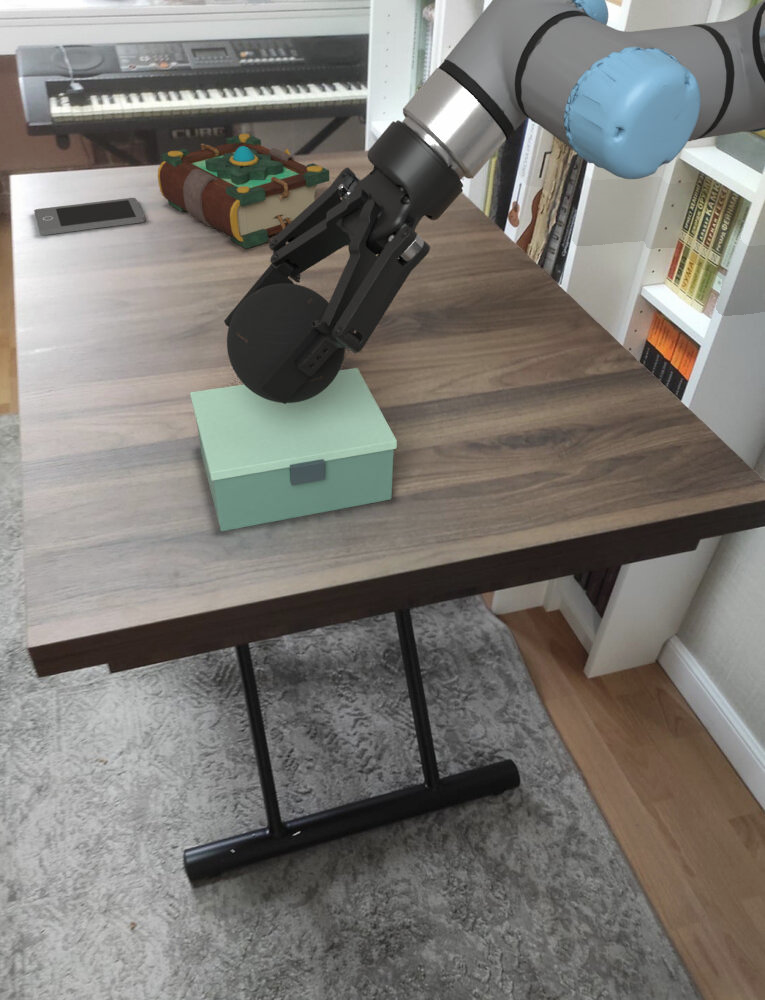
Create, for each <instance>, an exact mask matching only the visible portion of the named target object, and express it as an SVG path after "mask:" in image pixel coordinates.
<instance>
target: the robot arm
mask: <svg viewBox="0 0 765 1000" xmlns="http://www.w3.org/2000/svg"><path fill="white" fill-rule="evenodd" d="M608 22H609V8H608V5H607V2H606V0H491V1H490V3H489V4H488V5H487V6H486V7H485V9H484V10H483V11H482V13H481V14H480V15H479V17H478V18H477V19H476V20H475V21H474V23H473V24H472V25H471V26H470V28H469V29H468V30H467V31H466V32H465V33H464V34H463V37H462V38H461V39H460V40H459V41H458V42H457V44H456V45H455V46H454V48H452V50H451V51H450V52H449V54H447V56H446V57H445V58H444V59H443V62H442V63H441V64H440V65H439V66H438V67H436V68H435V69H434V70H433V72H432V73H431V74H430V75H429V77H428V78H426V80H425V82H424V83H423V84H422V85H421V86H420V87H419V89H417V91H416V92H415V94H413V96H412V97H411V99H409V101H408V102H407V103H406V105H404V107H403V108H402V114H403V116H404V119H403V120H402V121H401V120H398V119H397V120H396V121H392V122H390V124H389V125H388V126H387V128H386V129H385V130H384V131H383V132H382V133H381V135H380V136H379V137H378V138H377V139H376V141H375V142H374V143H373V144H372V146H371V147H370V148H369V149H368V150H367V159H368V161H369V163H371V165H373V169H372V170H371V171H370V172H369V173H368V174H367V175H365V176H364V177H363V178H360V177H359V176H358V175H357V174H356V173H355V172H354V171H353V170H352V169H350V168H349V167H345V168H344V169H342V170H341V171H340V173H338V175H337V176H336V178H335V179H334V180H333V182H332V183H331V184H330V186H329V187H328V188H327V189H325V190H324V191H323V192H322V193H321V194H320V195H319V196H318V197H317V198H315V201H314V202H313V203H312V204H310V205H309V206H308V207H307V208H306V209H305V210H304V211H303V212H302V213H301V214H299V215H298V216H297V217H296V218H295V219H294V220H293V221H292V222H291V223H290V224H288V225H287V226H286V227H285V228H284V229H283V230H282V231H281V232H278V233H276V235H275V236H274V237H273V238H272V239H271V240H270V242H269V243H268V248H269V249H270V250H271V251H272V255H271V257H270V258H269V259H270V260H269V261H270V263H271V264H270V265H269V266H268V267H267V268H266V270H265V271H264V272H263V273H262V274H261V275H260V277H259V278H258V279H257V281H255V283H254V284H253V285H252V286H251V288H250V289H249V290H248V291H247V292H246V293H245V295H244V296H243V297H242V298H241V299H240V301H239V302H238V303H237V304H236V306H235V307H234V308H233V309H232V310H231V312H230V313H229V314H228V316H227V317H225V319H224V320H223V322H224V324H225V326H227V327H228V328H229V324H230V321H231V319H232V317H233V315H234V313H235V311H236V309H237V308H238V307H239V305H240V304H241V303H242V302H243V301H244V300H245V299H246V298H247V297H248V296H249V295H251V294H252V293H254V292H255V291H257V290H259V289H261V288H263V287H266V286H269V285H273V284H280V283H289V284H295V283H296V284H298V283H301V276H302V275H301V274H302V273H304V272H306V271H307V270H309V269H310V268H312V267H313V266H315V265H317V264H318V263H320V262H321V261H323V260H324V259H326V258H329V256H331V255H333V254H334V253H335V252H337V251H339V250H340V249H342V248H344V247H345V246H348V249H347V251H348V253H349V257H348V259H347V261H346V264H345V266H344V268H343V271H342V272H341V275H340V277H339V279H338V282H337V284H336V286H335V288H334V291H333V293H332V295H331V297H330V299H329V301H328V302H329V304H328V306H327V308H326V311H325V313H324V315H323V317H322V319H321V321H318V320H314V321H313V320H312V322H311V324H310V325H309V326H308V327H307V328H306V329H305V331H304V332H303V333H302V334H301V335H300V336H299V337H298V339H297V340H296V341H295V342H294V343H293V344H292V346H291V347H290V348H289V349H288V350H287V351H286V352H285V354H284V355H283V356H282V357H281V358H280V359H279V361H278V362H277V363H276V364H275V365H274V366H273V367H272V369H271V370H270V371H269V372H268V373H267V374H266V376H265V377H264V378H263V379H262V380H261V381H260V382H259V384H258V385H259V387H260V389H261V390H263V391H264V392H266V393H268V394H269V395H271V396H272V397H274V398H276V399H277V400H279V401H281V402H282V403H284V404H286V403H287V402H288V400H289V399H290V398H291V397H292V396H293V395H294V394H295V392H296V391H297V390H298V389H299V388H300V387H301V386H302V385H303V383H304V382H305V381H306V380H307V379H308V378H309V377H310V376H312V375H313V374H315V373H316V372H317V371H318V369H319V368H320V367H321V366H322V365H323V363H325V362H326V360H327V359H328V358H329V357H330V356H331V355H332V354H333V353H334V351H335V350H336V349H338V348H340V347H341V348H343V347H344V348H345V349H347V350H350V351H351V352H353V353H354V354H358V353H359V352H361V351H362V350H363V349H364V347H365V345H366V344H367V342H368V341H369V339H370V337H371V336H372V334H373V333H374V331H375V330H376V328H377V326H378V325H379V323H380V322H381V320H382V318H383V317H384V316H385V314H386V312H387V311H388V309H389V308H390V306H391V304H392V302H393V301H394V299H395V298H396V296H397V294H398V292H399V291H400V290H401V289H402V286H404V284H405V282H406V281H407V279H408V277H409V276H410V274H411V272H412V271H413V270H414V269H415V268H416V267H417V266H418V265H419V264H420V263H421V262H422V261H423V260H424V259H425V258H426V256H427V255H428V254H429V252H430V250H431V246H430V245H429V243H427V241H425V239H423V238H422V237H421V236H420V235H419V234H418V233H417V232H416V229H417V226H418V225H419V223H420V221H421V220H422V219H423V217H426V218H427V219H428V220H430V221H437V220H438V219H440V217H442V215H443V214H444V213H445V212H446V211H447V210H448V208H449V207H450V206H451V205H452V204H453V203H454V202H455V200H456V199H457V198H458V197H459V196H460V195H461V194H462V192H463V187H464V183H463V182H462V179H463V178H466V179H474V178H475V177H476V175H477V174H478V173H479V172H480V171H481V169H482V168H483V167H485V165H486V164H487V163H488V162H489V160H490V159H491V158H492V157H493V156H494V155H495V153H496V152H497V151H498V150H499V149H500V147H502V145H503V144H504V143H505V142H506V141H508V140H509V139H510V138H511V137H512V136H513V135H514V133H515V131H516V130H517V129H518V128H519V127H520V126H521V125H522V124H523V123H524V121H525V120H526V119H529V120H530V121H531V122H533V123H535V124H537V125H539V126H540V127H541V128H542V129H543V130H545V131H547V132H548V133H549V134H551V135H552V136H553V137H555V138H556V139H558V141H560V142H562V143H563V144H564V145H565V146H567V147H569V148H570V150H572V151H574V153H576V154H577V155H578V157H579V158H581V159H583V160H584V161H585V162H587V163H588V164H593V165H594V166H596V167H597V168H601V169H603V170H605V171H607V172H608V173H610V174H612V175H614V176H616V177H618V178H621V179H624V180H639V179H644V178H648V177H649V176H652V175H654V174H656V173H657V170H658V169H659V168H660V167H662V166H663V165H665V164H667V165H668V164H670V163H672V161H673V160H675V158H676V157H677V156H678V155H679V154H680V153H681V152H682V150H683V149H684V147H685V146H686V145H687V143H688V142H692V141H697V140H701V139H707V138H713V137H719V136H727V135H732V134H737V133H748V132H749V133H757V132H762V131H765V0H762V1H760V2H759V3H757V4H755V5H754V6H752V7H751V8H749V9H747V10H746V11H744V12H742V13H741V14H739V15H737V16H735V17H733V18H730V19H728V20H723V21H713V22H706V23H697V24H696V23H695V24H690V25H682V26H671V27H664V28H663V27H662V28H654V29H653V28H652V29H643V30H634V31H633V30H632V31H624V30H619V29H616V28H614V27H612V26H609V25H608ZM337 320H338V322H337V324H336V323H335V322H336V321H337Z"/></svg>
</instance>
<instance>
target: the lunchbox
mask: <svg viewBox="0 0 765 1000" xmlns="http://www.w3.org/2000/svg"><path fill="white" fill-rule="evenodd" d="M189 397H190V400H191V405H192V409H193V413H194V417H195V421H196V427H197V433H198V441H199V447H200V453H201V457H202V462H203V466H204V471H205V474H206V478H207V482H208V486H209V489H210V493H211V497H212V501H213V506H214V509H215V510H214V511H215V514H216V519H217V522H218V527H219V530H220V532H226V531H232V530H237V529H243V528H247V527H253V526H259V525H263V524H269V523H274V522H278V521H279V522H280V521H284V520H290V519H294V518H300V517H306V516H311V515H316V514H322V513H327V512H332V511H337V510H343V509H348V508H352V507H358V506H359V507H360V506H364V505H369V504H373V503H379V502H385V501H388V500H389V501H391V500H392V497H393V496H392V494H393V493H392V492H393V471H394V452H395V451H394V450H396V449H397V448H398V441H397V440H398V439H397V438H396V436H395V435H394V432H393V431H392V429H391V427H390V426H389V424H388V422H387V420H386V418H385V416H384V414H383V412H382V411H381V409H380V406H379V405H378V403H377V401H376V399H375V397H374V396H373V394H372V392H371V391H370V388H369V386H368V385H367V382H366V380H365V379H364V377H363V375H362V374H361V371H360V370H359V368H358V367H353V368H347V369H340V370H339V372H338V374H337V376H336V377H335V379H334V380H333V381H332V383H331V384H330V385H329V386H328V387H327V388H326V389H325V390H323V391H322V392H321V393H319V394H318V395H316V396H314V397H312V398H310V399H307V400H304V401H301V402H295V403H286V404H284V403H279V402H274V401H270V400H267V399H265V398H262V397H260V396H258V395H257V394H255V393H254V392H252V391H251V390H250V389H248V388H247V387H246V386H245V385H244V384H238V385H237V384H236V385H231V386H223V387H218V388H210V389H205V390H197V391H191V392H189Z"/></svg>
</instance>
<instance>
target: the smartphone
mask: <svg viewBox="0 0 765 1000" xmlns="http://www.w3.org/2000/svg"><path fill="white" fill-rule="evenodd" d="M33 212H34V216H35V221H36V224H37V227H38V233H39V235H40V236H48V235H54V234H63V233H70V232H78V231H86V230H87V231H88V230H94V229H102V228H110V227H116V226H117V227H118V226H125V225H133V224H139V223H144V222H146V218H145V214H144V212H143V211H142V208H141V207H140V204H139V203H138V200H137V198H136V197H127V198H118V199H108V200H101V201H91V202H83V203H77V204H68V205H60V206H51V207H43V208H36V209H34V210H33Z"/></svg>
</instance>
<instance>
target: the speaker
mask: <svg viewBox="0 0 765 1000" xmlns="http://www.w3.org/2000/svg"><path fill="white" fill-rule="evenodd" d="M329 302H330V301H328V300H327V299H326V298H325V297H324V296H323V295H321V294H319V293H318V292H316V291H315V290H313V289H311V288H309V287H307V286H304V285H300V284H298V283H294V284H289V283H280V284H273V285H269V286H266V287H263V288H261V289H259V290H257V291H255V292H254V293H252V294H251V295H249V296H248V297H247V298H246V299H245V300H244V301H243V302H242V303H241V304H240V305H239V307H238V308H237V309H236V311H235V313H234V315H233V317H232V319H231V321H230V324H229V327H228V329H227V334H226V350H227V356H228V360H229V362H230V365H231V368H232V370H233V371H234V373H235V375H236V376H237V378H238V379H239V380H240V382H241V383H242V385H245V386H246V387H247V388H248V389H250V390H251V391H252V392H254V393H255V394H257V395H258V396H260V397H262V398H265V399H267V400H270V401H274V402H279V403H282V402H281V401H279V400H277V399H276V398H274V397H272V396H271V395H269V394H268V393H266V392H264V391H263V390H261V389H260V387H259V385H258V384H259V382H260V381H261V380H262V379H263V378H264V377H265V376H266V374H267V373H268V372H269V371H270V370H271V369H272V367H273V366H274V365H275V364H276V363H277V362H278V361H279V359H280V358H281V357H282V356H283V355H284V354H285V352H286V351H287V350H288V349H289V348H290V347H291V346H292V344H293V343H294V342H295V341H296V340H297V339H298V337H299V336H300V335H301V334H302V333H303V332H304V331H305V329H306V328H307V327H308V326H309V325H310V324H311V322H312V320H313V321H314V320H318V321H321V319H322V317H323V315H324V313H325V311H326V308H327V306H328V304H329ZM337 322H338V320H337V321H336V322H335V323H336V324H337ZM345 355H346V348H344V347H343V348H341V347H340V348H338V349H336V350H335V351H334V353H333V354H332V355H331V356H330V357H329V358H328V359H327V360H326V362H325V363H323V365H322V366H321V367H320V368H319V369H318V371H317V372H316V373H315V374H313V375H312V376H310V377H309V378H308V379H307V380H306V381H305V382H304V383H303V385H302V386H301V387H300V388H299V389H298V390H297V391H296V392H295V394H294V395H293V396H292V397H291V398H290V399H289V400H288V402H287V403H295V402H301V401H304V400H307V399H310V398H312V397H314V396H316V395H318V394H319V393H321V392H322V391H323V390H325V389H326V388H327V387H328V386H329V385H330V384H331V383H332V381H333V380H334V379H335V377H336V376H337V374H338V372H339V370H341V367H342V365H343V362H344V358H345Z"/></svg>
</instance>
